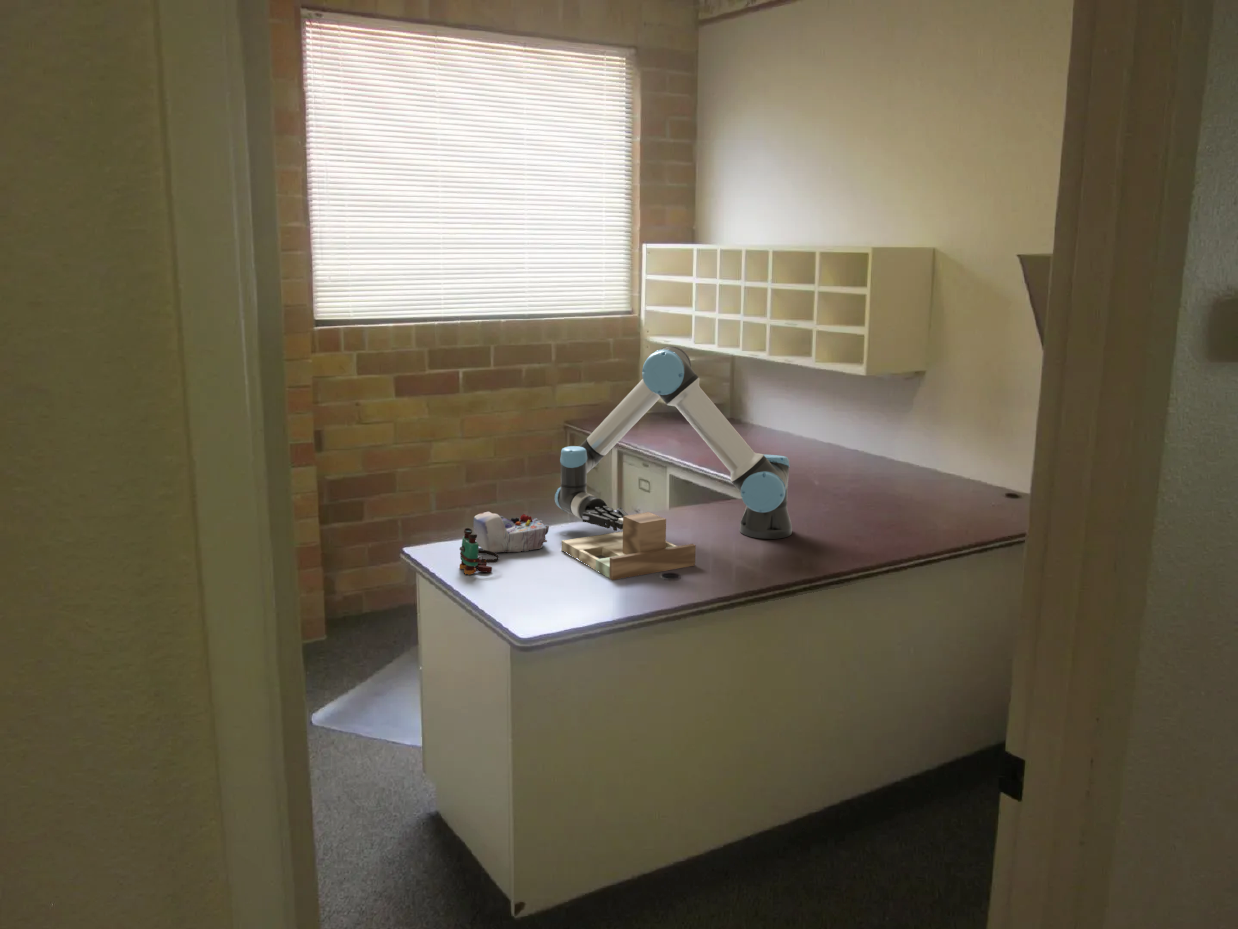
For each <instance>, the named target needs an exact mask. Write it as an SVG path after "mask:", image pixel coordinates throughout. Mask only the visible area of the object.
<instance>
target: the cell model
mask: <svg viewBox="0 0 1238 929" xmlns="http://www.w3.org/2000/svg"><path fill="white" fill-rule="evenodd" d="M549 530H550V526H549V524H544V523H543V520H539V519H538V518H537V517H535V518H532V516H531V515H530V516H529V515H528V514H524V513H523V514H521V515H520V517H519V516H518V517H511V518H510V519H508V518H506V517H504V516H503V515H499V514H498V513H492V512H490V511H486V512H480V513H478V514H476V515H475V516H473V532H474V533H473V534H477V538H476V542H477V543H479V548H481V550H487V551H491V552H494V553H495V552H496V553H506V552H507V553H521V551H522V552H524V551H525V552H529V550H530V551H533V550H540V549H542V548H543V545H544V543H547V542H548V540H547V539H546V535H548V533H549Z"/></svg>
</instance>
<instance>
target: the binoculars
mask: <svg viewBox="0 0 1238 929" xmlns="http://www.w3.org/2000/svg"><path fill="white" fill-rule="evenodd" d="M463 533H464V535H463V536H462V539H461V540H462V541H461V546H460V547H459V551H460V553H459V554H460V555H459V556H460V560H461V561H460V563H459V569H460V570H464V573H465V574H464V575H466V574H468V576H470V575H473V574H475V573H476V572H481V573H492V570H493V566H490V565H488V564H494V563H498V561H499V560H500V555H499V554H497V552H496V553H494V552H491V551H487V550H483V549H479V548H480V547H479V543H477V542H476V538H477V534H475V533H473V529H472V528H469V527H465V528H464V529H463ZM479 554H482V555H481V556H479ZM483 555H489V556H492V557H494V558H484V556H483Z"/></svg>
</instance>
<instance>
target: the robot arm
mask: <svg viewBox="0 0 1238 929" xmlns="http://www.w3.org/2000/svg"><path fill="white" fill-rule="evenodd" d="M641 374H642V375H641V376H642V379H641V380H640V381H639V382H638V383H637V384H636V385H635V386H634V387H633V388H632V390H631V391H629V393H627V395H626V396H625V397H624V398H623V399H622V400H621V401H620V402H619V404H617V406H616V407H615V408H613V410H612V411H610V412H609V414H608V415H607V416H606V417H605V418H604V419H603V420H602V422H601V423H600V424H599V425H598V426H597V427H596V428H595V429H594V430H593V431H592V433H590V434H589V435H588V436H587V437H586V439H585V440H584V441H582V443H580V445H578V446H576V445H570V446H569V445H568V446H565V447H562V448H561V451H560V459H559V462H560V487H558V488H557V490H556V492H555V494H554V503H555V505H556V506H557V507H558V508H559V509H560V510H562V511H563V512H565V513H567V514H569V515H571V516H574V517H576V518H578V519H580V520H582V523H586V524H591V525H596V526H598V527H602V528H605V529H611V528H612V531H613V532H615V531H616V532H618V529H619V530H621V531H623V516H626V515H629V514H628V513H627V512H626V511H625V510H624V507H618V508H616V509H615V510H614V508H613V507H610V506H608V505H607V504H606V501H605V500H603V499H601V498H600V497H597V496H595V495H593V494H591V493H588V492H587V486H588V484H587V475H588V473H589V472H590V471H591V470H592V469H593V470H594V468H595V467H596V466H598V464H599V463H600V461H601V460H602V459H604V457H605V456H606V455H607V454H608V453H609V452H610V451H611V449H612V448H614V447H615V445H617V444H618V442H619V441H620V440H622V438H623V437H624V436H626V434H628V432H629V431H630V430H631V429H632V428H633V427H634V426H635V425H636V424H637V423H638V422H639V420H641V419H642V418H643V417H644V415H646V413H647V412H648V411H649V410H650V409H651V408H653V406H654V405H655V404H656V403H657V402H658V401H659V399H660V400H662V401H663V402H664V403H665V404H666V405H667V406H670V407H671V406H672V407H675V408H676V409H677V410H678V411H679V413H680V414H681V415H682V416H683V417H684V418H685V420H686V421H687V422H688V423H689V424H690V426H691V427H692V428H693V429H694V430H695V432H696V433H697V434H698V435H699V437H700V438H701V439H702V440H703V441H704V442H705V443H706V445H707V446H708V447H709V449H710V450H711V451H712V452H713V453H714V454H715V455H716V456H717V458H718V460H720V462H721V463H722V464H723V465H724V466H725V467H726V469H727V470H728V472H730V482H731V483H732V485H733V486H734V487H735V488H736V490H737V491H738V492H739V493H740V497H741V499H742V500H741V501H742V502H743V504H744V505H745V509H744V512H743V515H742V516H741V520H740V522H739V532H740V533H741V534H742V535H744V536H747V537H751V538H756V539H763V540H764V539H765V540H777V539H785V538H787V537H790V536H791V535H792V533H793V526H792V520H791V518H790V514H789V510H788V493H789V492H788V491H789V472H790V470H789V469H790V466H791V465H790V459H789V458H788V456H784V455H778V454H777V455H776V454H763V453H758V452H755V451H754V450H753V449H752V448H751V446H750V445H749V444H748V443H747V442H746V440H745V439H744V438H743V436H741V435H740V433H739V432H738V431H737V430H736V429H735V427H734V426H733V425H732V424H731V422H730V421H729V420H728V418H727V417H726V416H725V415H724V414H723V413H722V412H721V410H720V409H719V408H718V407H717V406H716V404H715V403H714V402H713V401H712V400H711V399H710V398H709V395H707V394H706V392H704V390H703V389H702V388H701V387H700V381H701V380H700V377H699V375H697V373H696V372H695V370H693V368H692V362H691V358H690V357H689V354H687V352H686V351H685V350H684V349H682V348H680V347H677V346H673V345H671V346H670V345H669V346H664V347H662V348H660V349H657V350H656V351H654V352H653V353H650V355H649V356H648V357H647V358H646V360H645V361H644V363H643V365H642V370H641Z"/></svg>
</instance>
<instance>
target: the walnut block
mask: <svg viewBox="0 0 1238 929" xmlns="http://www.w3.org/2000/svg"><path fill="white" fill-rule="evenodd" d="M622 531H623V553H624V554H626V555H628V554H634V553H640V552H646V551H652V550H658V549H664V548H666V541H667V540H666V539H667V518H665V517H663V516H660V515H657V514H655V513H652V512H650V511H645V512H641V513H634V514H628V515H626V516H623V530H622Z"/></svg>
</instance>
